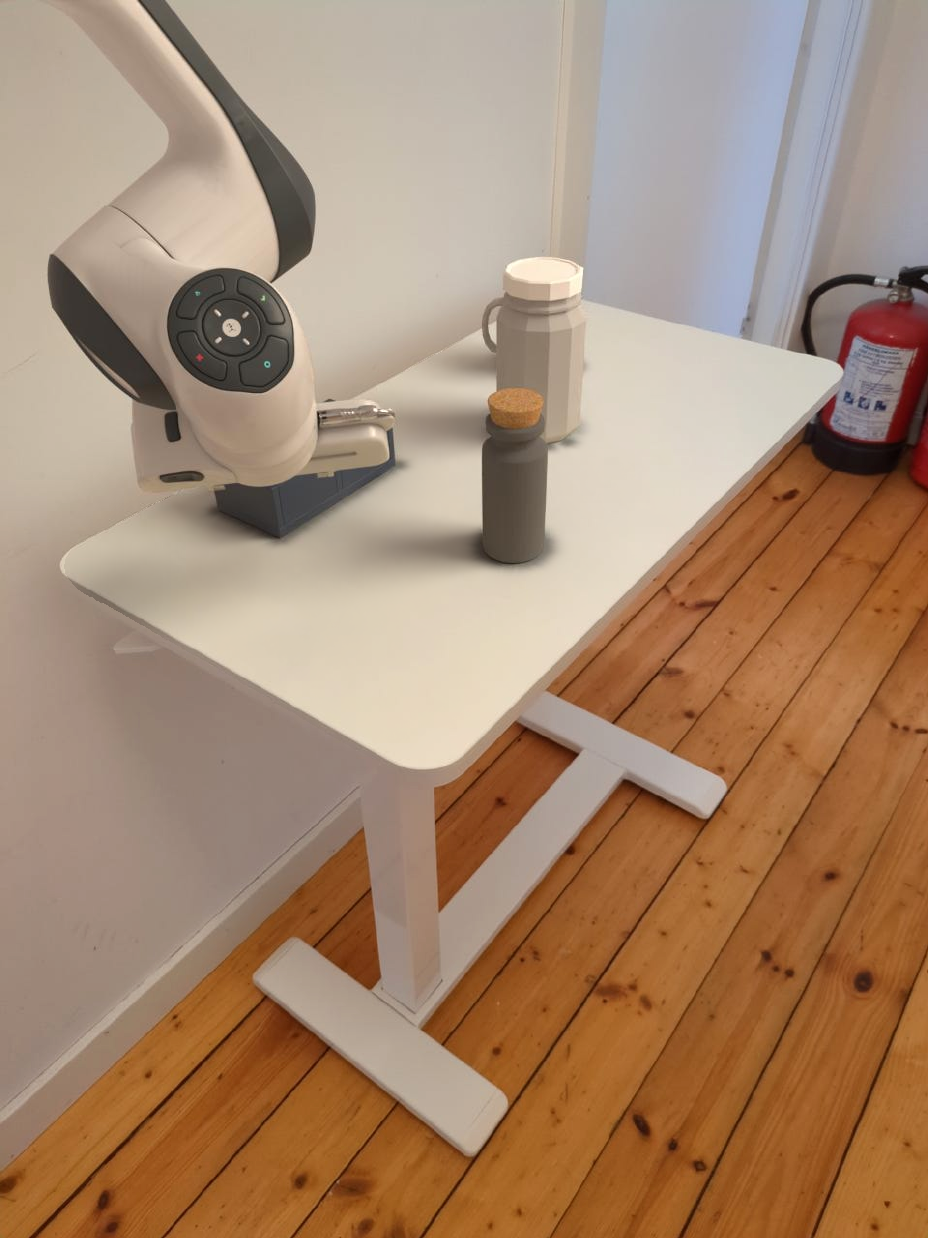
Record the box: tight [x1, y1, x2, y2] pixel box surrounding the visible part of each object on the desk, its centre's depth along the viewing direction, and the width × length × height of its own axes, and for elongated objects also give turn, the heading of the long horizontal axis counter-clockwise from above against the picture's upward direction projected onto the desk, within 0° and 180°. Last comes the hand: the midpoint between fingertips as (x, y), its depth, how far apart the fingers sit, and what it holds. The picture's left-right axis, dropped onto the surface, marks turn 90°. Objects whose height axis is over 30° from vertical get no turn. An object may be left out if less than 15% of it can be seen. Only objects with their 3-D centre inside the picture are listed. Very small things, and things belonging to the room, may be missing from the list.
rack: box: [213, 398, 397, 539], centre depth 93 cm, size 17×9×6 cm, turn 143°
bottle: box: [481, 388, 549, 564], centre depth 80 cm, size 6×6×15 cm
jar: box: [495, 256, 588, 444], centre depth 98 cm, size 10×10×18 cm
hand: (270, 475), depth 79 cm, fingers open, 8 cm apart
